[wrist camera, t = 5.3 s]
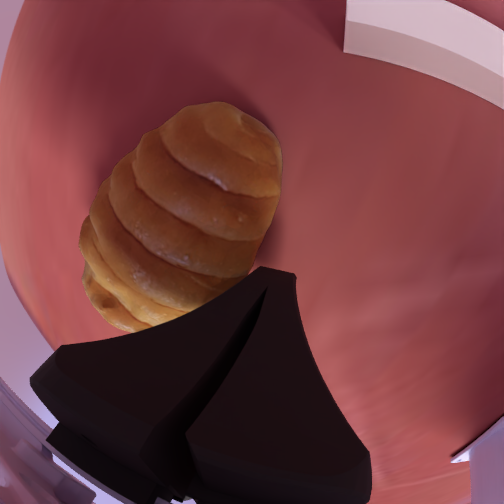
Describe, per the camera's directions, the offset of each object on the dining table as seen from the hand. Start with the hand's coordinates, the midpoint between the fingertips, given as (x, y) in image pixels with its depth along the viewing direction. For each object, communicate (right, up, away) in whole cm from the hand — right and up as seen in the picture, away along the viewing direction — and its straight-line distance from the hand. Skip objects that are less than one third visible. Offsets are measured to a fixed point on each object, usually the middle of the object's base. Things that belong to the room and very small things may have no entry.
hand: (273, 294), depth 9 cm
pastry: (-4, +3, +2) cm, 5 cm away
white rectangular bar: (+9, +7, -5) cm, 12 cm away
